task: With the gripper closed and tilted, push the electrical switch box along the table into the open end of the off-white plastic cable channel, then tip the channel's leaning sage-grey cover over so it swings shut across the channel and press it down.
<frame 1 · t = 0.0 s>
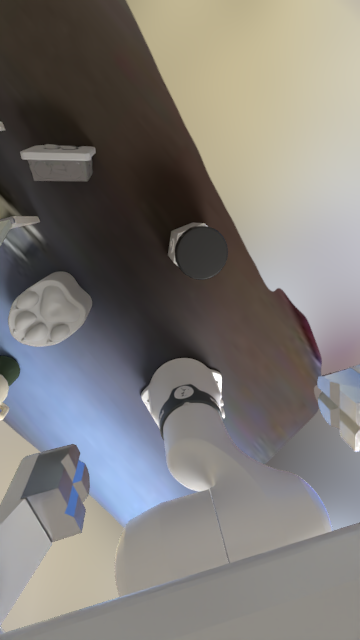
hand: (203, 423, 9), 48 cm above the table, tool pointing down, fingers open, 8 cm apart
jar: (189, 246, 55), on the table
electrical switch: (70, 165, 47), on the table
character mug: (5, 367, 58), on the table
cat paw sculpture: (55, 305, 55), on the table
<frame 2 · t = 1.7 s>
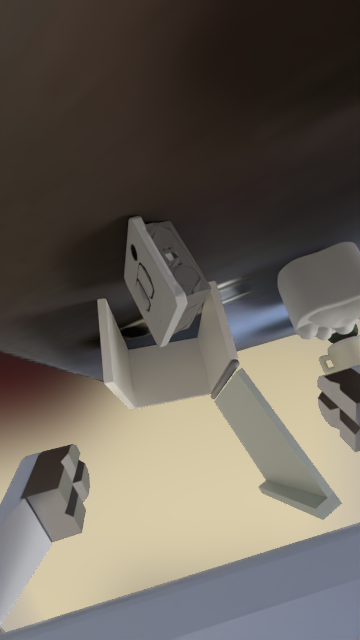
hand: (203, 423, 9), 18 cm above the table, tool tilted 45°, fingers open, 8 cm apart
electrical switch: (152, 245, 28), on the table
channel: (161, 323, 44), on the table
character mug: (330, 309, 54), on the table
cat paw sculpture: (313, 274, 40), on the table
cover: (253, 440, 37), point 19 cm above the table, hinge at 111.0°
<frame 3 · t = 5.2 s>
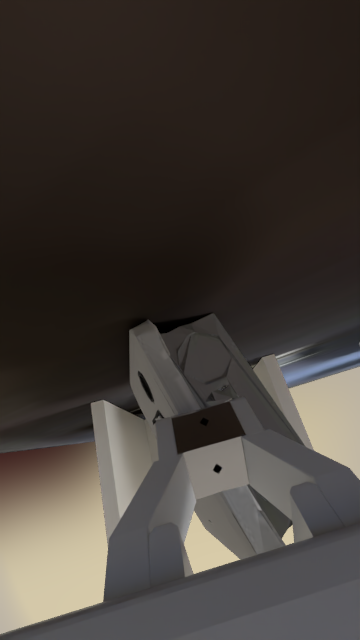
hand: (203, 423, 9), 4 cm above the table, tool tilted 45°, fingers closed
electrical switch: (177, 343, 15), on the table, touching gripper
channel: (187, 397, 31), on the table
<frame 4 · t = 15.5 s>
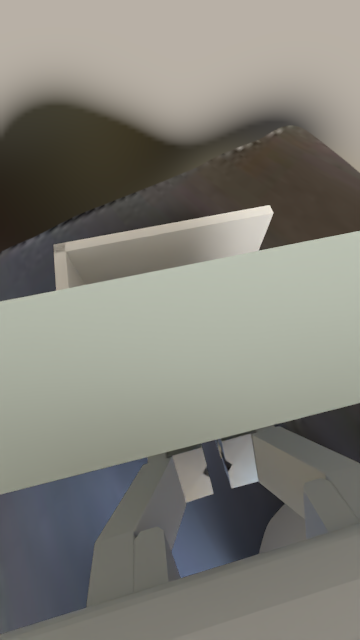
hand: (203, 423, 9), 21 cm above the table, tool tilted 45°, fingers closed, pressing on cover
channel: (183, 339, 32), on the table
cat paw sculpture: (323, 564, 24), on the table
cover: (232, 357, 11), point 19 cm above the table, hinge at 101.8°, touching gripper
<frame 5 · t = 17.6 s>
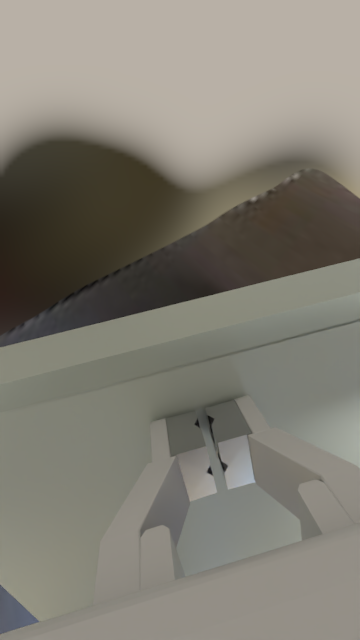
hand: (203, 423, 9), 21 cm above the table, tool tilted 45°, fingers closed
cover: (219, 467, 12), point 17 cm above the table, hinge at 50.8°, touching gripper
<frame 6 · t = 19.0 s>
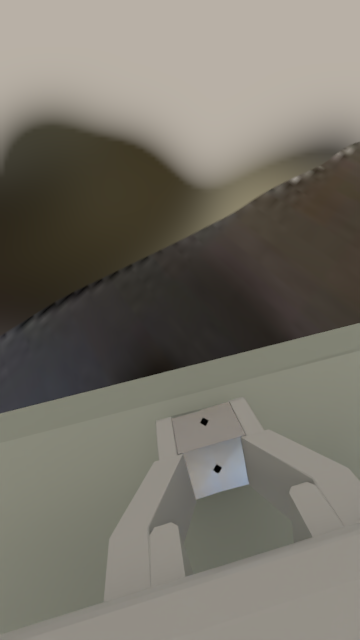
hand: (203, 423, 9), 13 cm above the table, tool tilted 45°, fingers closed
cover: (272, 591, 9), point 11 cm above the table, hinge at 4.4°, touching gripper
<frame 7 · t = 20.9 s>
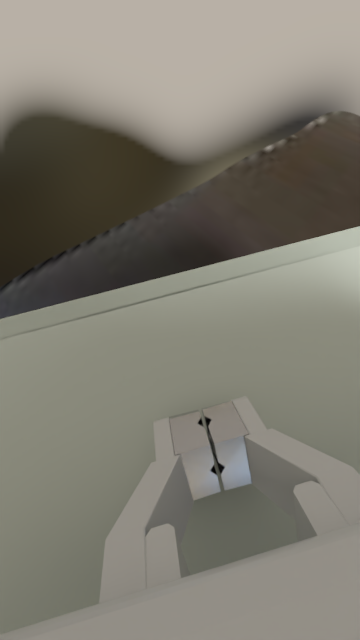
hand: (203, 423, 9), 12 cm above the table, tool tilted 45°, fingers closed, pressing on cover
cover: (207, 462, 10), point 10 cm above the table, hinge at -0.1°, touching gripper
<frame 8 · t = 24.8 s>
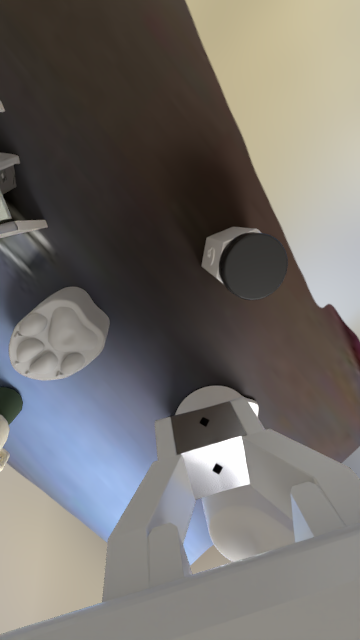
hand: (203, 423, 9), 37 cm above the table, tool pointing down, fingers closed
jar: (226, 255, 45), on the table
character mug: (5, 399, 48), on the table
cat paw sculpture: (65, 326, 46), on the table
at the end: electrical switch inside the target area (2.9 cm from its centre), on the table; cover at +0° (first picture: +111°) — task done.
